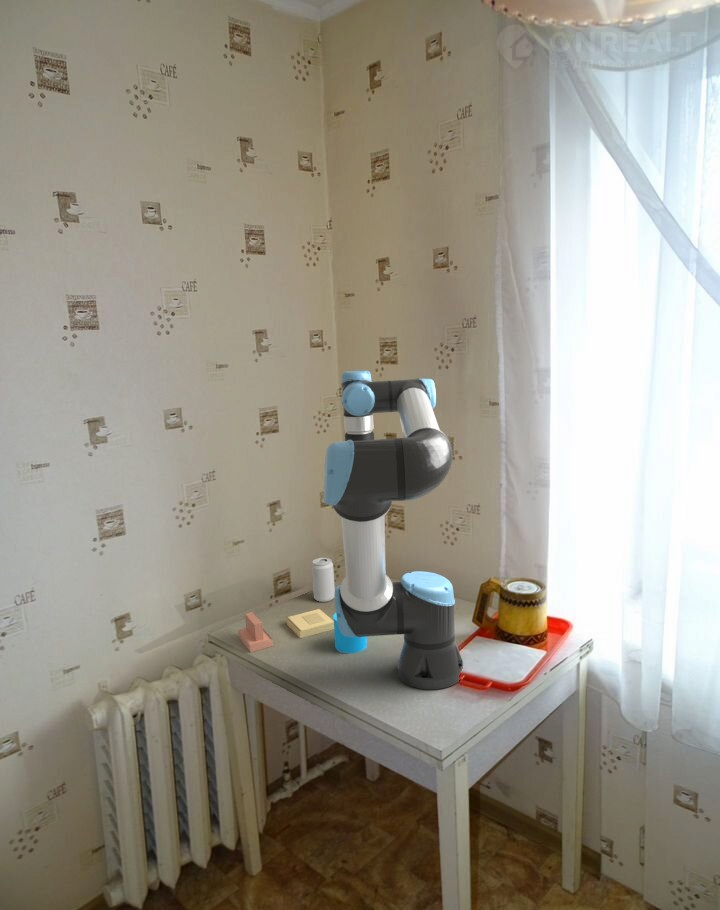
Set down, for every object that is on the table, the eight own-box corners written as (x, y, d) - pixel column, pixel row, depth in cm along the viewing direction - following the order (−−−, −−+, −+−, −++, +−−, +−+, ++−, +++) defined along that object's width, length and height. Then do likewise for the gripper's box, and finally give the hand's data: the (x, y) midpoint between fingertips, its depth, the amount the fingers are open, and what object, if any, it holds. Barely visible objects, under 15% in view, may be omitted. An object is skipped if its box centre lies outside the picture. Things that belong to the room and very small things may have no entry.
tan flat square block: (334, 628, 181) (334, 621, 180) (300, 638, 176) (299, 630, 176) (319, 615, 190) (319, 608, 189) (286, 624, 185) (286, 617, 185)
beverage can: (339, 596, 202) (337, 558, 200) (327, 604, 197) (324, 565, 194) (322, 593, 205) (319, 555, 203) (309, 600, 200) (306, 562, 198)
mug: (370, 650, 168) (368, 620, 166) (338, 655, 166) (336, 624, 165) (360, 630, 180) (359, 601, 178) (330, 634, 178) (328, 605, 176)
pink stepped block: (272, 645, 173) (270, 622, 172) (250, 652, 170) (248, 628, 169) (260, 631, 182) (258, 608, 181) (238, 636, 179) (236, 614, 178)
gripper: (374, 426, 178) (378, 512, 183) (329, 432, 172) (335, 521, 177) (388, 430, 171) (392, 519, 176) (342, 436, 166) (348, 528, 170)
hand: (364, 520), depth 176 cm, fingers closed
